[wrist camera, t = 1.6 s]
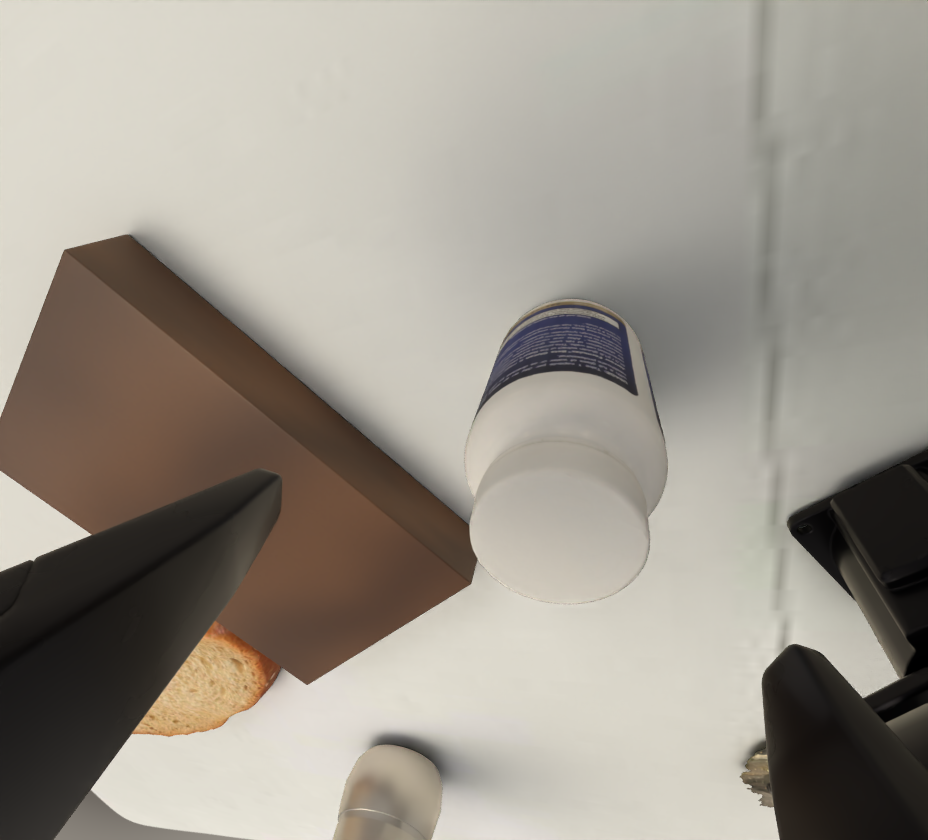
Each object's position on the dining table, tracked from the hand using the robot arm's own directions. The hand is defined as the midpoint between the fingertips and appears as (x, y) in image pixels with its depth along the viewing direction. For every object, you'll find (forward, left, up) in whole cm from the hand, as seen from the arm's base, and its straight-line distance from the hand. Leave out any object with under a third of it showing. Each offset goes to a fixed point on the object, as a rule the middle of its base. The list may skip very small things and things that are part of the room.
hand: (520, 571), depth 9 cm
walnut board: (+5, +17, -12) cm, 21 cm away
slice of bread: (+2, +36, -12) cm, 38 cm away
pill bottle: (-1, +1, -12) cm, 12 cm away
